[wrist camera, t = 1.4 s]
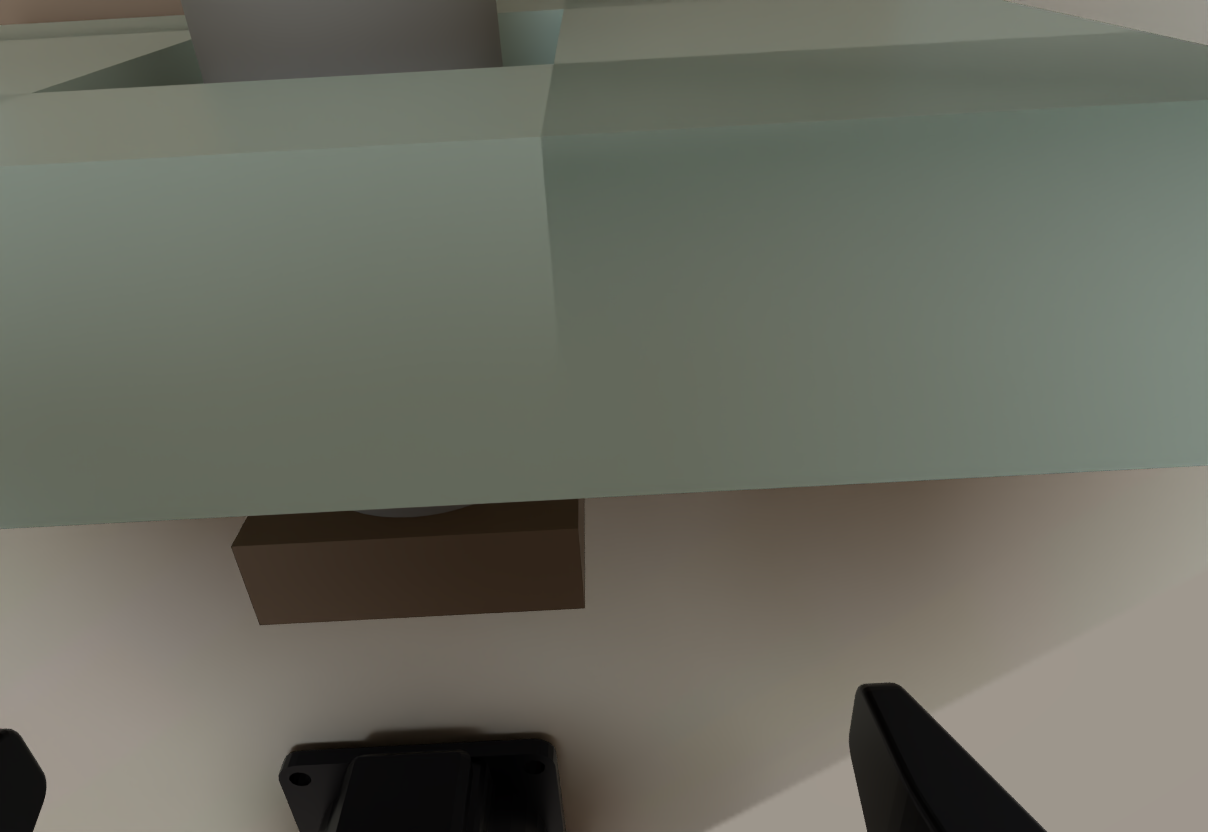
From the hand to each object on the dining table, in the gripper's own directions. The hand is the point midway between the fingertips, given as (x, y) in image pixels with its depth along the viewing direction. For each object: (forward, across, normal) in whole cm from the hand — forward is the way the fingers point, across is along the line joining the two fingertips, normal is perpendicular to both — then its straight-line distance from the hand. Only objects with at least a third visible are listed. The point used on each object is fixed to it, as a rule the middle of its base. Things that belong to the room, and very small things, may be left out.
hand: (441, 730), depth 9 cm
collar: (+5, 0, -6) cm, 8 cm away
